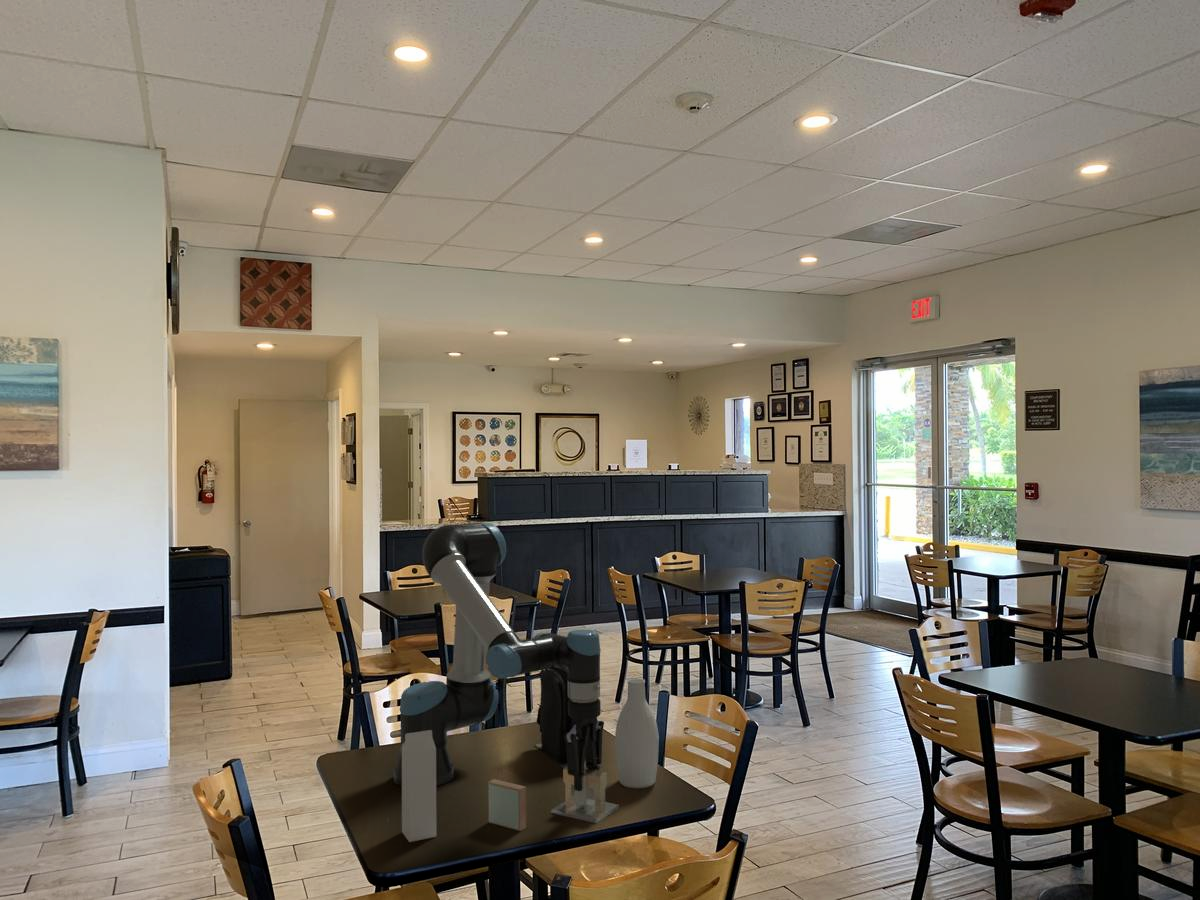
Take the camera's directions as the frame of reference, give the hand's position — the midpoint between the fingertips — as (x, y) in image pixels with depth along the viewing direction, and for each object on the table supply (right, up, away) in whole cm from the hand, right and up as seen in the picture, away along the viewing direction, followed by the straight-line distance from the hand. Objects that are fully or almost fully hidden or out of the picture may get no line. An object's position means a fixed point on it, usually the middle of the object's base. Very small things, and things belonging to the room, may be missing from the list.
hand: (585, 800), depth 201 cm
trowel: (0, -2, 0) cm, 2 cm away
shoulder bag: (-6, -4, +40) cm, 40 cm away
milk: (-36, -2, -13) cm, 38 cm away
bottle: (+13, -3, +18) cm, 22 cm away
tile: (-17, -2, -8) cm, 19 cm away
